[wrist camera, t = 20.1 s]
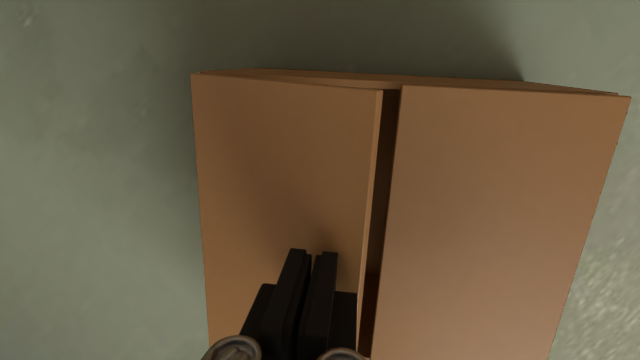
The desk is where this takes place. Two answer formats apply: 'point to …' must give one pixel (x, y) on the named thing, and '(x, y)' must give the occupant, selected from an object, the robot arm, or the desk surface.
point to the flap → (280, 184)
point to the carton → (475, 210)
